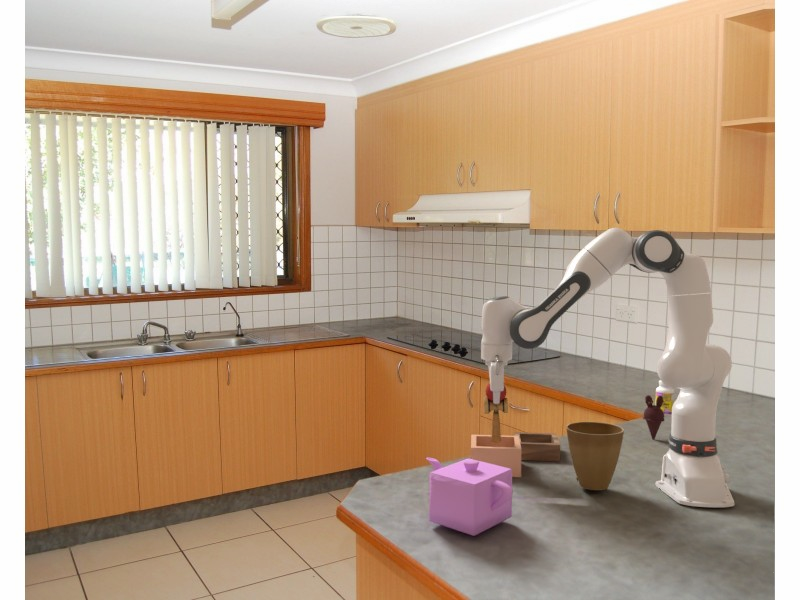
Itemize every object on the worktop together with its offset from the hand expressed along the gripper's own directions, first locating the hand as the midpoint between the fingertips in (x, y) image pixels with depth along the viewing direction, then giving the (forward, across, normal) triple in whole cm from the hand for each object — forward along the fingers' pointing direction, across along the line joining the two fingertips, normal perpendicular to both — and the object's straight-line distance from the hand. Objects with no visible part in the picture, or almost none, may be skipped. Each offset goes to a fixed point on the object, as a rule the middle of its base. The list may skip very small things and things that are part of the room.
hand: (496, 400), depth 205 cm
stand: (+20, 0, 0) cm, 20 cm away
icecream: (+20, +37, -53) cm, 68 cm away
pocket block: (+20, +16, -13) cm, 29 cm away
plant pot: (+20, -12, -26) cm, 35 cm away
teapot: (+20, -38, +8) cm, 44 cm away
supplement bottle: (+20, +75, -66) cm, 102 cm away
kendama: (+12, +2, 0) cm, 13 cm away
